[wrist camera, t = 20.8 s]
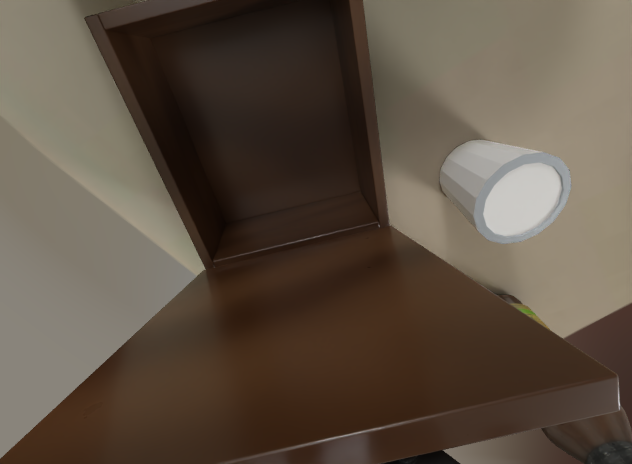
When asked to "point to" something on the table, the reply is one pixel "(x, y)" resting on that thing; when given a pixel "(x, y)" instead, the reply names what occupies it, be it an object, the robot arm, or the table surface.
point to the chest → (253, 117)
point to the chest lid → (323, 367)
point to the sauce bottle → (589, 427)
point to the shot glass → (505, 188)
